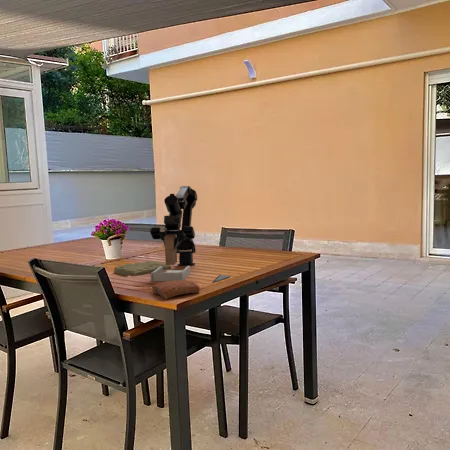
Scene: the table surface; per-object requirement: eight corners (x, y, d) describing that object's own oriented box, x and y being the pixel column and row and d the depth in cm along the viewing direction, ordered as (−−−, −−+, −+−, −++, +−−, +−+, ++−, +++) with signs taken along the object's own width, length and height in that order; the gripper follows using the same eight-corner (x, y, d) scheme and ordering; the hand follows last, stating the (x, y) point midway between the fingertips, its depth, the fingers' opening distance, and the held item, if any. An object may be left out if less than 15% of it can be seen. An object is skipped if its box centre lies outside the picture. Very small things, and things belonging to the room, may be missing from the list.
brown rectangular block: (169, 262, 192) (167, 234, 190) (177, 261, 191) (175, 234, 190) (165, 265, 186) (164, 236, 184) (173, 265, 185) (172, 236, 184)
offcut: (168, 273, 194) (168, 270, 194) (182, 273, 193) (182, 270, 193) (165, 276, 190) (165, 272, 190) (179, 276, 189) (179, 272, 189)
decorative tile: (171, 271, 206) (171, 263, 206) (134, 279, 192) (134, 270, 192) (148, 266, 220) (148, 259, 219) (112, 273, 206) (112, 266, 205)
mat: (208, 274, 194) (208, 273, 194) (230, 277, 187) (230, 276, 187) (190, 279, 185) (190, 278, 185) (212, 282, 177) (212, 281, 177)
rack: (160, 275, 196) (160, 266, 195) (190, 274, 194) (190, 265, 194) (150, 283, 181) (150, 273, 180) (182, 283, 179) (182, 273, 179)
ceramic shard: (181, 273, 174) (201, 285, 162) (178, 289, 175) (198, 302, 163) (147, 274, 165) (166, 286, 153) (144, 290, 166) (163, 304, 154)
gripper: (149, 208, 191) (143, 238, 181) (192, 207, 188) (188, 237, 179) (155, 224, 199) (150, 253, 190) (196, 223, 197) (192, 252, 187)
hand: (169, 248), depth 186 cm, fingers closed on brown rectangular block, 3 cm apart
